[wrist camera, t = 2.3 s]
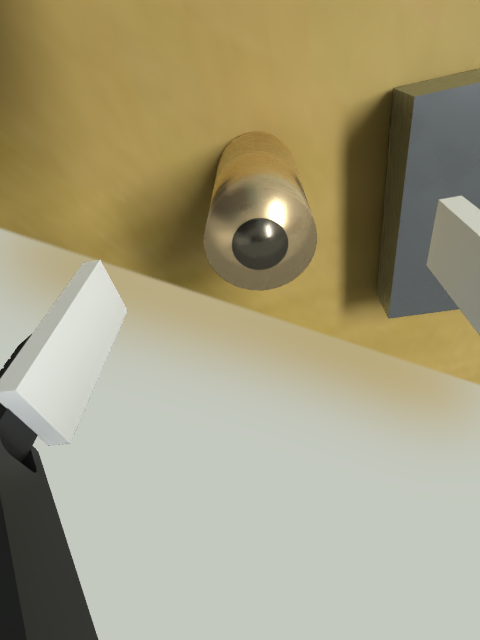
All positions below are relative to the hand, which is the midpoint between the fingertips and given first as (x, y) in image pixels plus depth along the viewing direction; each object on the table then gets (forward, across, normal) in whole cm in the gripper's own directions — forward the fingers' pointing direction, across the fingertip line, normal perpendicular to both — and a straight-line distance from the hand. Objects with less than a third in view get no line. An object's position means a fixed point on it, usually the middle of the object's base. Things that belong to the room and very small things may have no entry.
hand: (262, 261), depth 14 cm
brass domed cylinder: (+10, 0, 0) cm, 10 cm away
